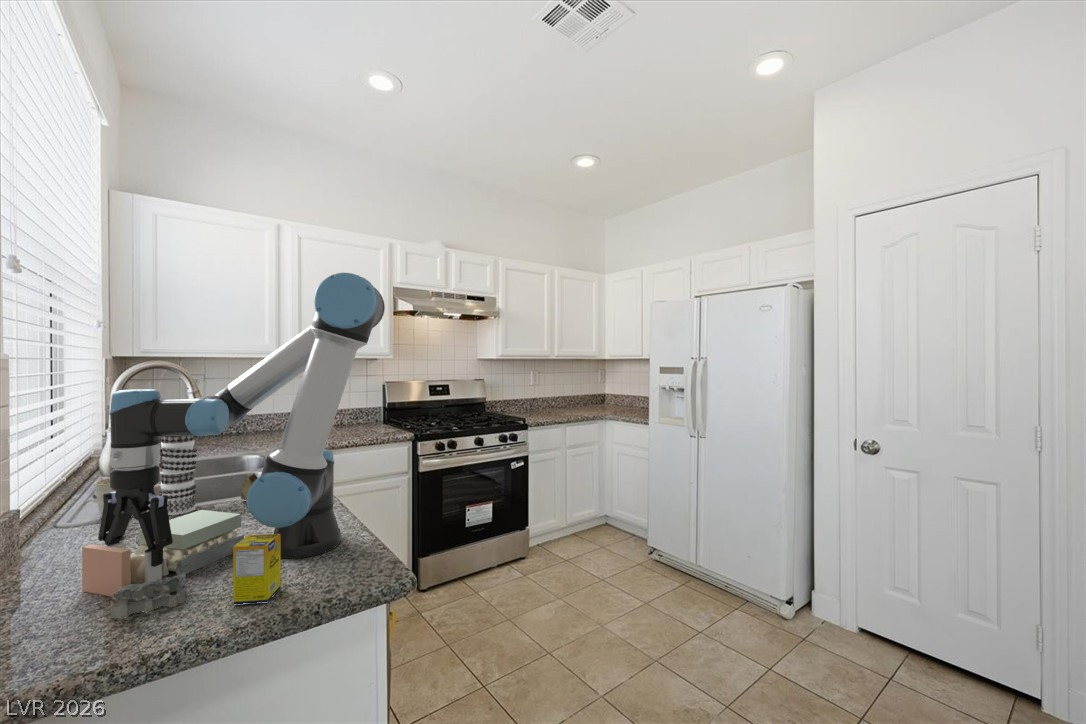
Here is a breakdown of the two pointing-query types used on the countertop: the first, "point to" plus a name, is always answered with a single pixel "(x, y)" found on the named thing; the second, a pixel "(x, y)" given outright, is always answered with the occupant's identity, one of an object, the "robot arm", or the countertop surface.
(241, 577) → the supplement box
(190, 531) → the slab
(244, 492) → the rock
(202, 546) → the roller bed
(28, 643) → the countertop surface
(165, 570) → the roller cradle
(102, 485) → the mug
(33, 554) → the countertop surface
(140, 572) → the roller
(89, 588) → the board
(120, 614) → the egg carton
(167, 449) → the decorative candle
